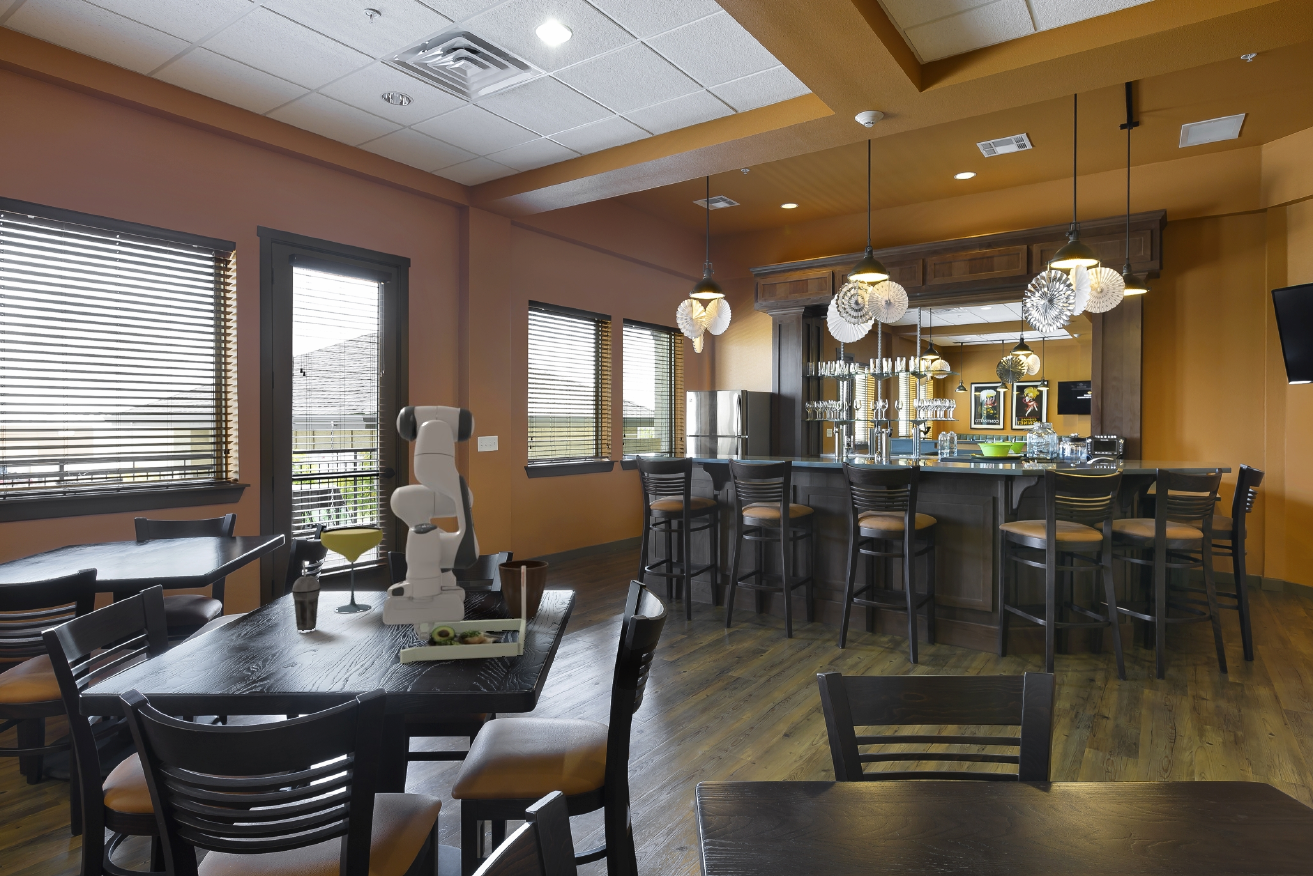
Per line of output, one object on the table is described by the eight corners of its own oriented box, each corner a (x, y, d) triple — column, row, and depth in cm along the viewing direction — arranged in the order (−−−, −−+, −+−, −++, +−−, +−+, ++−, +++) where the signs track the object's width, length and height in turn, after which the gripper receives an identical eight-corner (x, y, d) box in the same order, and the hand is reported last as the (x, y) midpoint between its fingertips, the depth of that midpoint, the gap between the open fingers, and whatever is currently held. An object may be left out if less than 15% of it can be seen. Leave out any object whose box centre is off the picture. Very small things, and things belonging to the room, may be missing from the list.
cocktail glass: (325, 604, 229) (325, 528, 229) (385, 600, 235) (384, 525, 235) (316, 618, 212) (316, 535, 212) (381, 613, 217) (380, 532, 217)
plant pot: (509, 609, 222) (509, 559, 222) (555, 611, 220) (554, 560, 220) (490, 622, 207) (490, 568, 207) (538, 624, 205) (538, 569, 205)
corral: (420, 631, 198) (420, 567, 198) (526, 627, 202) (526, 564, 202) (399, 664, 170) (399, 589, 170) (522, 658, 174) (522, 585, 174)
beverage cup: (326, 627, 202) (325, 557, 202) (311, 634, 195) (310, 562, 195) (302, 627, 203) (301, 557, 203) (286, 634, 195) (285, 562, 195)
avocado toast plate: (504, 635, 195) (503, 618, 195) (502, 654, 178) (502, 636, 178) (431, 639, 192) (431, 622, 192) (422, 659, 174) (422, 641, 174)
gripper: (466, 583, 189) (466, 634, 189) (386, 585, 186) (386, 638, 186) (463, 588, 182) (463, 641, 182) (380, 590, 180) (381, 645, 180)
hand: (424, 639), depth 184 cm, fingers closed
